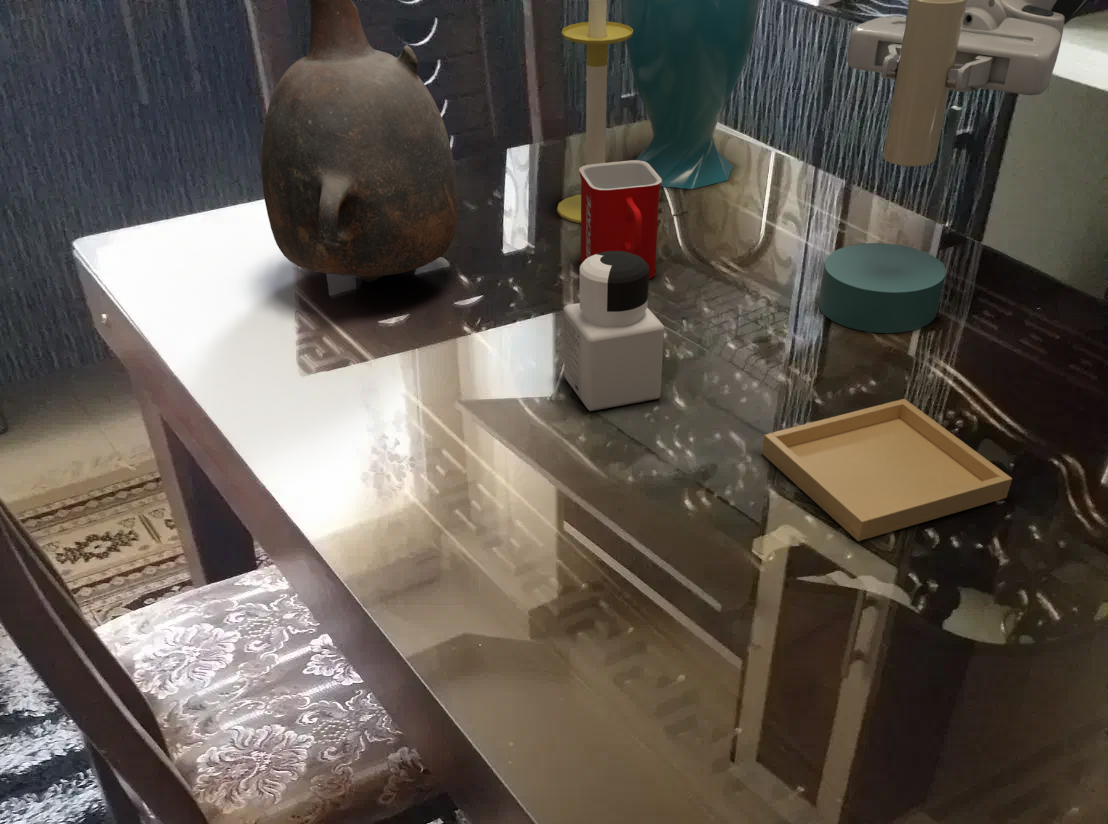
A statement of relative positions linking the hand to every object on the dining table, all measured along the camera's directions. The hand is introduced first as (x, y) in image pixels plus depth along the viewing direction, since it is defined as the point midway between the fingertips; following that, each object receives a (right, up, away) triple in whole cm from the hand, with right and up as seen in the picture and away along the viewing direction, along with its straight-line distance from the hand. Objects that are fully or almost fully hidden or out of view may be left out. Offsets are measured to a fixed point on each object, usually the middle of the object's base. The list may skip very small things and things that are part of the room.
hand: (921, 74), depth 110 cm
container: (-29, -28, +6) cm, 41 cm away
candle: (-30, +6, +40) cm, 50 cm away
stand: (+1, -15, +18) cm, 24 cm away
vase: (-17, +16, +50) cm, 55 cm away
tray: (-6, -40, -6) cm, 41 cm away
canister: (+1, -5, +6) cm, 8 cm away
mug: (-27, -9, +26) cm, 38 cm away
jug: (-57, -9, +26) cm, 63 cm away
